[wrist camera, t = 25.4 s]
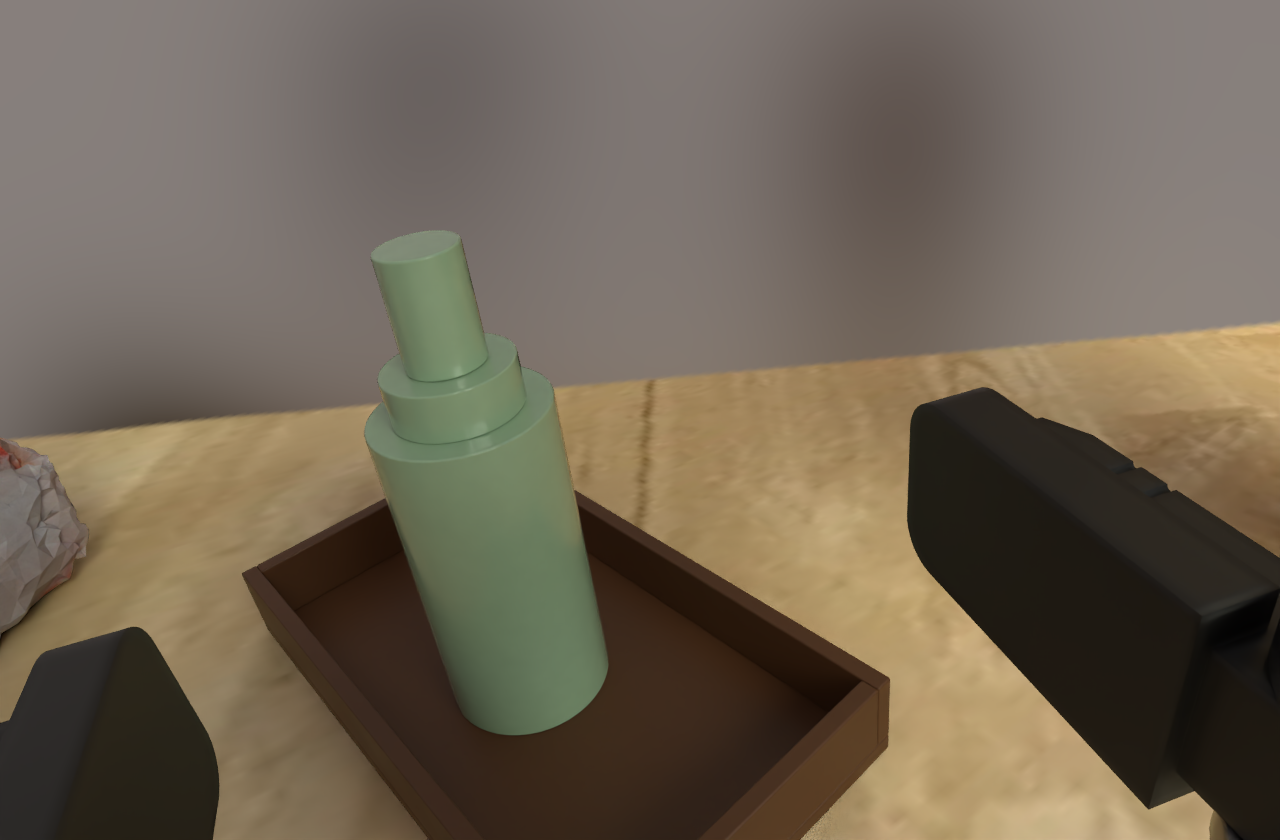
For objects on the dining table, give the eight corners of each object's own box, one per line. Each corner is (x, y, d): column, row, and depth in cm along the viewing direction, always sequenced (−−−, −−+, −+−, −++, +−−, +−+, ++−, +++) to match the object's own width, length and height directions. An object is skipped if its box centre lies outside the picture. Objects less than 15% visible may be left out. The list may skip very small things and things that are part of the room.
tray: (506, 494, 42) (493, 440, 40) (889, 747, 27) (891, 677, 25) (268, 630, 35) (241, 573, 34) (595, 1057, 21) (574, 990, 19)
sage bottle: (547, 595, 34) (451, 200, 26) (640, 665, 30) (562, 228, 22) (425, 677, 31) (274, 260, 23) (511, 766, 27) (367, 305, 19)
